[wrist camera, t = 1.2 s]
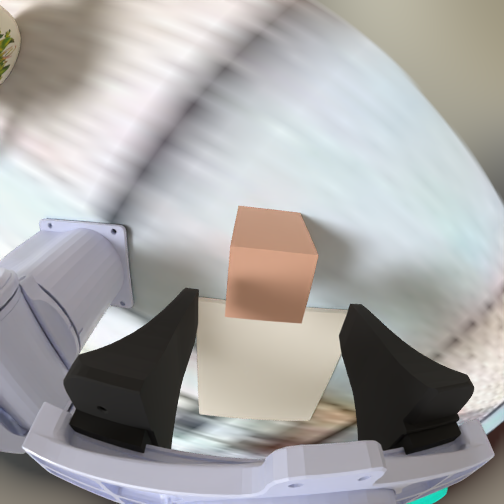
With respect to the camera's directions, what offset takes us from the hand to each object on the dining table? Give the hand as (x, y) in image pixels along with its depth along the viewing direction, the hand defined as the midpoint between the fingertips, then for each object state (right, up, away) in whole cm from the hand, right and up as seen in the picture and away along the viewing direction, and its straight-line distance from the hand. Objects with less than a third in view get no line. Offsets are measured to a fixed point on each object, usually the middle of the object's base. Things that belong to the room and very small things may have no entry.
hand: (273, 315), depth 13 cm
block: (0, +4, +9) cm, 10 cm away
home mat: (0, -10, +15) cm, 18 cm away
